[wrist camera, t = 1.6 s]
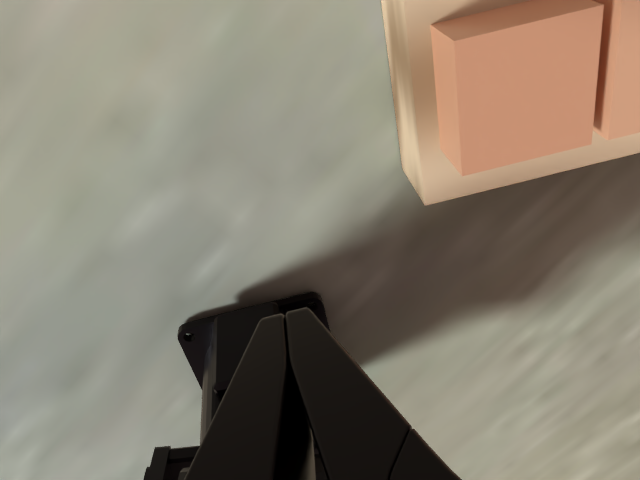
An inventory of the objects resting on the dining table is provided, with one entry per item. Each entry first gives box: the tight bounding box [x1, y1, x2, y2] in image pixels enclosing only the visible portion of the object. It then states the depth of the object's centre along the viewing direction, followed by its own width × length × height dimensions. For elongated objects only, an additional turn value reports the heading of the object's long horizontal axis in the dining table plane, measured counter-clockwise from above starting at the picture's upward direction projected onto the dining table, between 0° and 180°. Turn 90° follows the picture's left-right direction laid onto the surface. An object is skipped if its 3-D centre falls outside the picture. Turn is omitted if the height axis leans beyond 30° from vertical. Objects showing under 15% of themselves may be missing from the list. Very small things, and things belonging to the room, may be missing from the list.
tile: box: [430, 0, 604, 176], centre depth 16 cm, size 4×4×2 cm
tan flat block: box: [381, 0, 640, 206], centre depth 18 cm, size 8×9×3 cm
